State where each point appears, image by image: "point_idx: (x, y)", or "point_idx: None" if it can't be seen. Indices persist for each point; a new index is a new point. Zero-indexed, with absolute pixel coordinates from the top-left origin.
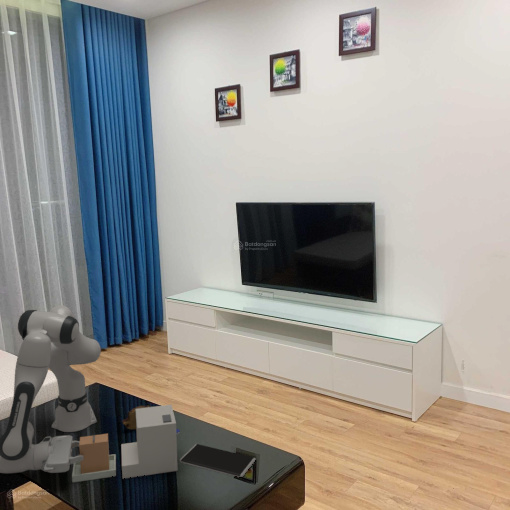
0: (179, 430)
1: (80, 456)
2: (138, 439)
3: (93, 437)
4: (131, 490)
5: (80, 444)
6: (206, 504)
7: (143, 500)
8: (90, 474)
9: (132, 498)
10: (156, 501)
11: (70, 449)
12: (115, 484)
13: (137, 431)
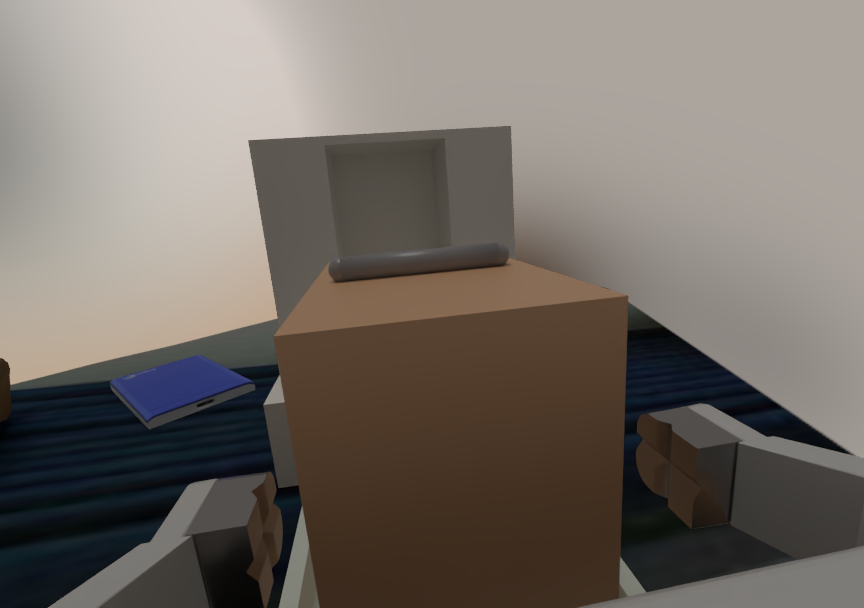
0: (200, 355)
1: (730, 417)
2: (511, 198)
3: (413, 252)
4: (645, 405)
5: (593, 294)
6: (630, 306)
7: (694, 372)
8: (633, 584)
9: (705, 394)
10: (676, 352)
11: (619, 601)
12: (623, 462)
13: (511, 148)
